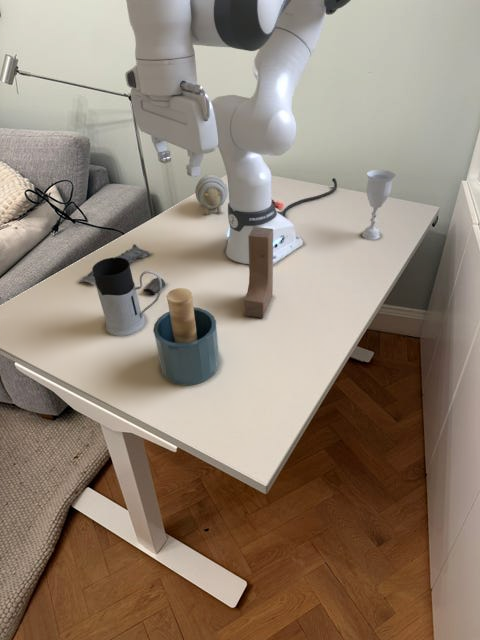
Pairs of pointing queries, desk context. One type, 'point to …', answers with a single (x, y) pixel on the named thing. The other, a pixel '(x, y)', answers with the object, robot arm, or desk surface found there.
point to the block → (154, 286)
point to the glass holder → (120, 296)
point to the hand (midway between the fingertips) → (179, 168)
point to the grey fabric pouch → (127, 255)
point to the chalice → (377, 197)
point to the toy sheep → (211, 192)
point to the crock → (188, 350)
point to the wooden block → (259, 272)
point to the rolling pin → (182, 315)
